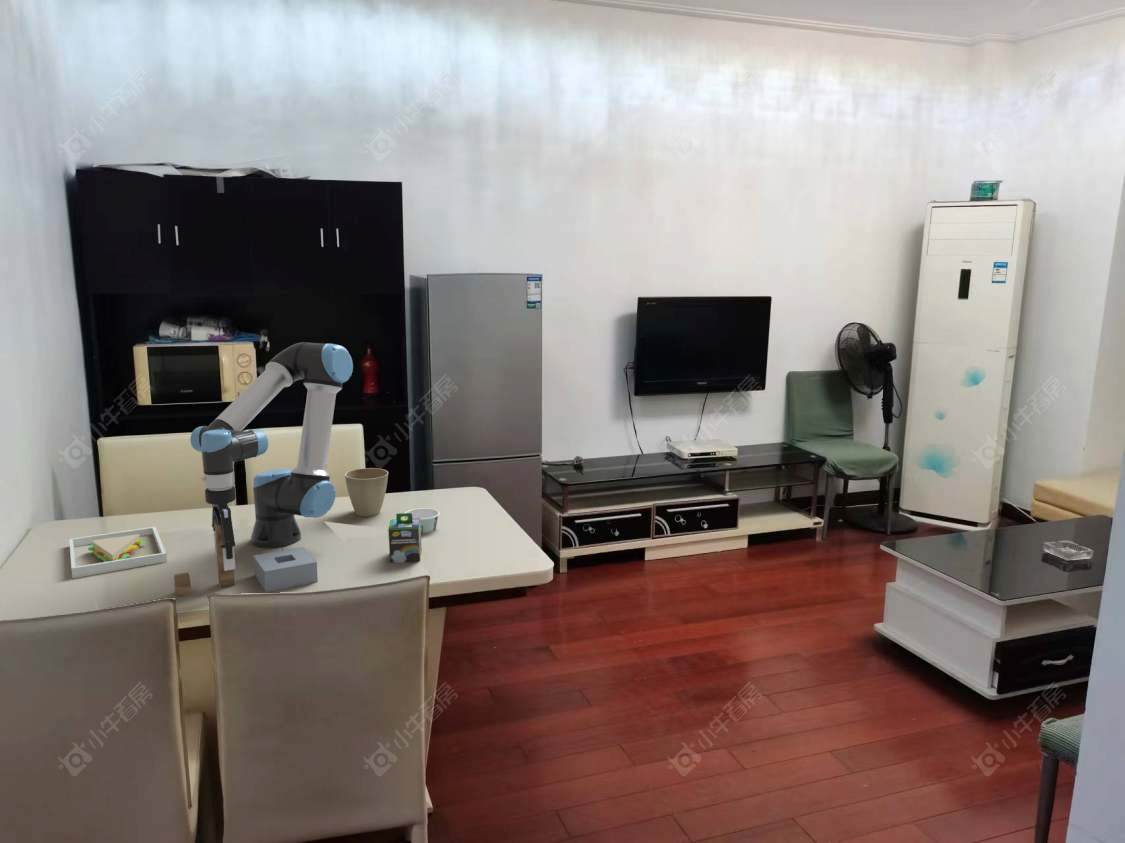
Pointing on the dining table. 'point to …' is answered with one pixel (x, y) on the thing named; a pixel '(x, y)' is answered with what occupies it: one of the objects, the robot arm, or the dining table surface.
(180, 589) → the short pin
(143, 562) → the sandwich plate rim
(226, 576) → the long wooden block
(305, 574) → the hole block
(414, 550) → the chalk box
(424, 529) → the food container
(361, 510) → the plant pot
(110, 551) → the sandwich
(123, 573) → the dining table surface
